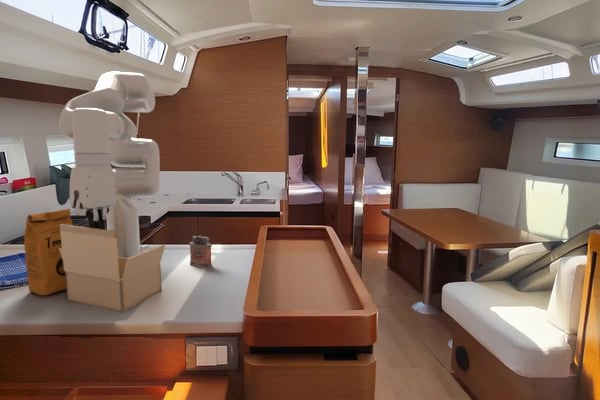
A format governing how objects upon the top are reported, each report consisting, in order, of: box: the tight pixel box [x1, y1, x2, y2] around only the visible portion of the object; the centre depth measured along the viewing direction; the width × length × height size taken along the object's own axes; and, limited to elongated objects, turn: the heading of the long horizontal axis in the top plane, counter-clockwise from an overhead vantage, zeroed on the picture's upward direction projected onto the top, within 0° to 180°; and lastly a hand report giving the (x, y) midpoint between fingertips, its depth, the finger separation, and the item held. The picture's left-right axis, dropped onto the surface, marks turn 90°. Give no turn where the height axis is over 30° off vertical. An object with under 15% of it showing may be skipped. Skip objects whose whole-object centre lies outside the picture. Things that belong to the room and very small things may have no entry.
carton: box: [59, 244, 166, 313], centre depth 100 cm, size 14×22×14 cm, turn 71°
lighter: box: [188, 235, 213, 268], centre depth 126 cm, size 8×3×10 cm, turn 68°
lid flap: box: [60, 224, 120, 280], centre depth 92 cm, size 12×17×1 cm
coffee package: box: [23, 208, 74, 296], centre depth 104 cm, size 10×12×22 cm
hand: (97, 235), depth 94 cm, fingers closed
